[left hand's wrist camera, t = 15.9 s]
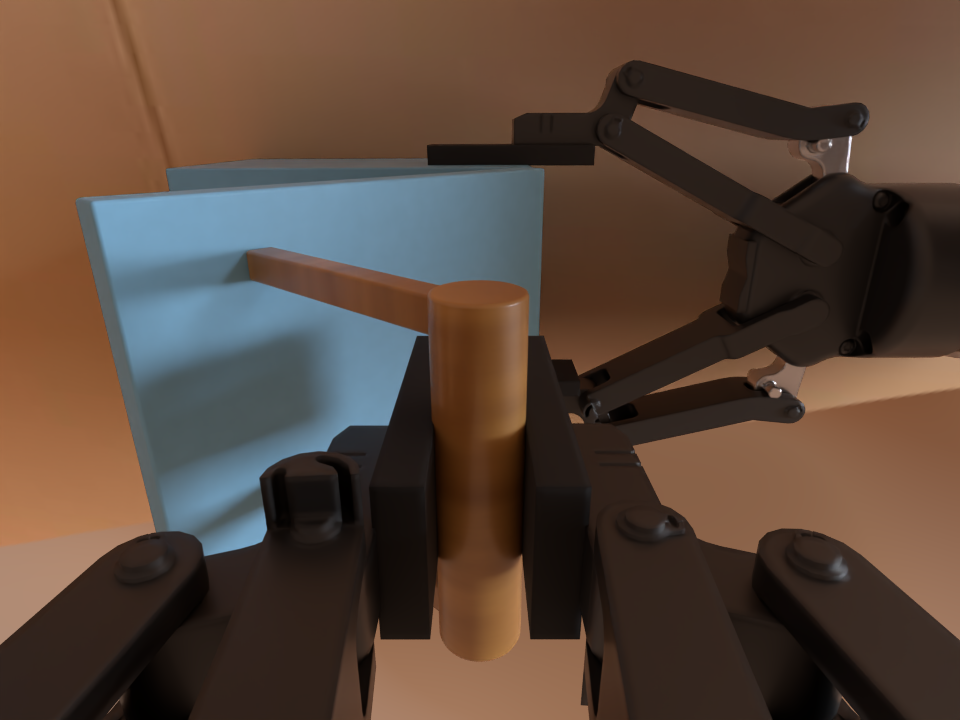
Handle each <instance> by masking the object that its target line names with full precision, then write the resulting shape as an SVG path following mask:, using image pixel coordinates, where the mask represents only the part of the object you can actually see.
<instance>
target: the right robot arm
mask: <svg viewBox="0 0 960 720" xmlns="http://www.w3.org/2000/svg"><path fill="white" fill-rule="evenodd" d="M637 105H641V106H644V107H648V108H652V109H656V110H659V111H663V112H667V113H670V114H674V115H678V116H682V117H685V118H689V119H693V120H696V121H700V122H704V123H707V124H711V125H715V126H719V127H722V128H726V129H730V130H733V131H737V132H741V133H744V134H748V135H752V136H756V137H760V138H765V139H772V140H789V141H788V144H787V145H788V149H789V152H790V154H791V155H792V157H794V158H796V159H801V160H805V161H807V162H808V163H809V164H810V166H811V169H812V174H811V175H809V176H808V177H806V178H805V179H803V180H802V181H800V182H799V183H797V184H796V185H794V186H793V187H791V188H790V189H788V190H787V191H785V192H784V193H782V194H781V195H779V196H778V197H776V198H775V199H773V200H772V201H771V200H770V199H768V198H766V197H764V196H762V195H760V194H758V193H755V192H753V191H751V190H749V189H747V188H746V187H744V186H742V185H741V184H739V183H737V182H735V181H734V180H732V179H730V178H729V177H727V176H725V175H723V174H722V173H720V172H718V171H717V170H715V169H713V168H711V167H710V166H708V165H706V164H705V163H703V162H701V161H700V160H698V159H696V158H694V157H693V156H691V155H689V154H688V153H686V152H684V151H682V150H681V149H679V148H677V147H676V146H674V145H672V144H670V143H669V142H667V141H665V140H664V139H662V138H660V137H659V136H657V135H655V134H653V133H652V132H650V131H648V130H647V129H645V128H643V127H641V126H640V125H638V124H636V123H635V122H633V121H631V118H632V115H633V113H634V111H635V108H636V106H637ZM868 121H869V111H868V109H867V107H866V106H865V105H863V104H862V103H844V104H833V105H821V106H812V107H805V106H802V105H798V104H795V103H791V102H787V101H784V100H780V99H777V98H773V97H769V96H766V95H762V94H758V93H755V92H751V91H748V90H744V89H740V88H737V87H733V86H730V85H726V84H722V83H719V82H715V81H711V80H708V79H704V78H701V77H697V76H693V75H690V74H686V73H683V72H679V71H675V70H672V69H668V68H665V67H661V66H657V65H654V64H650V63H646V62H643V61H638V60H633V61H630V62H628V63H625V64H623V65H621V66H619V67H617V68H615V69H613V70H612V71H611V72H610V73H609V75H608V77H607V79H606V86H605V88H604V91H603V94H602V96H601V99H600V101H599V103H598V105H597V106H596V107H595V108H594V109H593V110H592V111H590V112H588V113H526V114H524V115H521V116H519V117H517V118H515V119H512V144H431V145H427V156H428V165H594V155H595V146H599V147H601V148H602V149H604V150H606V151H608V152H609V153H611V154H613V155H615V156H616V157H618V158H620V159H622V160H623V161H625V162H627V163H629V164H630V165H632V166H634V167H636V168H637V169H639V170H641V171H643V172H644V173H646V174H648V175H650V176H651V177H653V178H655V179H657V180H658V181H660V182H662V183H664V184H666V185H667V186H669V187H671V188H673V189H674V190H676V191H678V192H680V193H681V194H683V195H685V196H687V197H688V198H690V199H692V200H694V201H695V202H697V203H699V204H701V205H702V206H704V207H706V208H708V209H709V210H711V211H712V212H713V213H715V214H716V215H718V216H720V217H722V218H723V219H725V220H727V221H729V222H730V223H732V224H734V225H736V226H737V227H738V228H737V230H736V231H735V234H729V241H728V247H727V255H728V263H729V269H728V272H727V274H726V277H725V279H724V281H723V284H722V288H721V295H720V302H722V304H720V305H717V306H715V307H713V308H711V309H709V310H707V311H705V312H703V313H702V314H700V315H699V317H698V319H697V320H695V321H694V322H691V323H689V324H687V325H685V326H683V327H681V328H679V329H677V330H674V331H672V332H670V333H668V334H666V335H664V336H662V337H659V338H657V339H655V340H653V341H651V342H649V343H647V344H645V345H642V346H640V347H638V348H636V349H634V350H632V351H630V352H628V353H625V354H623V355H621V356H619V357H617V358H615V359H613V360H611V361H608V362H606V363H604V364H602V365H600V366H598V367H596V368H594V369H591V370H589V371H587V372H585V373H583V374H581V375H579V376H578V374H577V372H576V369H575V367H574V364H573V362H572V360H552V364H553V367H554V370H555V373H556V376H557V379H558V382H559V385H560V389H561V392H562V395H563V398H564V401H565V404H566V407H567V411H568V413H574V414H577V415H578V416H580V417H581V418H582V419H583V421H584V424H612V425H613V426H615V427H616V428H617V429H619V430H620V431H621V432H623V433H624V434H625V435H627V436H628V438H629V440H630V442H631V444H632V446H633V445H638V444H643V443H647V442H652V441H657V440H661V439H666V438H671V437H676V436H680V435H685V434H690V433H694V432H699V431H704V430H708V429H713V428H718V427H722V426H727V425H732V424H736V423H741V422H746V421H750V420H759V421H769V422H779V423H794V422H797V421H799V420H800V419H801V418H802V417H803V415H804V413H805V406H804V404H803V403H802V402H801V401H799V400H798V399H797V398H796V397H797V393H798V390H799V387H800V384H801V381H802V378H803V375H804V372H805V369H806V367H808V366H812V365H815V364H817V363H819V362H821V361H823V360H826V359H829V358H832V357H839V356H842V357H860V358H919V357H940V356H949V357H955V358H960V184H950V183H922V184H866V183H864V182H862V181H860V180H858V179H857V178H856V177H854V176H853V175H850V174H848V167H849V158H850V149H851V139H852V136H854V135H857V134H859V133H860V132H861V131H863V130H864V128H865V127H866V126H867V124H868ZM763 347H766V348H768V349H769V350H770V351H772V352H773V353H774V354H776V355H777V357H776V359H775V361H774V362H773V363H772V364H771V365H770V366H768V367H765V368H759V369H751V370H749V371H748V373H747V377H728V378H722V379H717V380H713V381H708V382H704V383H699V384H695V385H690V386H686V387H681V388H677V389H672V390H667V391H663V392H658V393H654V394H649V393H651V392H653V391H655V390H657V389H660V388H662V387H664V386H666V385H668V384H671V383H673V382H675V381H677V380H679V379H682V378H684V377H686V376H688V375H690V374H693V373H695V372H697V371H699V370H701V369H704V368H706V367H708V366H710V365H712V364H715V363H717V362H719V361H721V360H724V359H738V358H741V357H744V356H746V355H748V354H750V353H752V352H755V351H757V350H759V349H761V348H763ZM646 394H649V395H646ZM644 395H645V396H644Z"/></svg>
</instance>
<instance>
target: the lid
mask: <svg viewBox="0 0 960 720" xmlns="http://www.w3.org/2000/svg"><path fill="white" fill-rule="evenodd" d="M543 198H544V169H542V168H525V167H523V168H508V169H493V170H478V171H464V172H449V173H434V174H419V175H405V176H390V177H375V178H361V179H346V180H331V181H316V182H302V183H287V184H272V185H257V186H243V187H228V188H213V189H198V190H184V191H169V192H154V193H139V194H125V195H110V196H95V197H81V198H78V199H76V207H77V211H78V215H79V219H80V223H81V227H82V231H83V236H84V240H85V244H86V248H87V252H88V256H89V260H90V264H91V268H92V272H93V276H94V280H95V285H96V289H97V293H98V297H99V301H100V305H101V309H102V313H103V317H104V321H105V325H106V329H107V334H108V338H109V342H110V346H111V350H112V354H113V358H114V362H115V366H116V370H117V374H118V378H119V383H120V387H121V391H122V395H123V399H124V403H125V407H126V411H127V415H128V419H129V423H130V427H131V432H132V436H133V440H134V444H135V448H136V452H137V456H138V460H139V464H140V468H141V472H142V476H143V481H144V485H145V489H146V493H147V497H148V501H149V505H150V509H151V513H152V517H153V521H154V525H155V529H156V532H165V531H180V532H184V533H187V534H191V535H194V536H195V537H196V538H197V539H198V540H199V541H200V542H201V543H202V546H203V551H204V556H208V555H213V554H218V553H222V552H227V551H232V550H237V549H241V548H244V547H248V546H252V545H255V544H257V543H260V542H262V541H263V538H264V536H265V533H266V531H267V526H266V519H265V513H264V506H263V500H262V493H261V487H260V480H259V477H260V476H261V475H262V474H263V473H264V472H265V470H266V469H267V468H268V467H270V466H272V465H273V464H275V463H277V462H278V461H280V460H282V459H285V458H288V457H291V456H294V455H297V454H300V453H308V452H315V451H325V452H327V450H328V448H329V446H330V444H331V442H332V440H333V438H334V437H335V436H337V435H338V434H339V433H341V432H342V431H343V430H345V429H346V428H347V427H349V426H350V425H389V422H390V419H391V416H392V412H393V409H394V406H395V403H396V400H397V397H398V394H399V390H400V387H401V384H402V381H403V378H404V375H405V372H406V368H407V365H408V362H409V359H410V356H411V353H412V350H413V347H414V343H415V340H416V337H417V336H429V361H430V387H431V414H432V422H433V424H434V440H435V471H436V501H437V532H438V565H437V575H436V585H435V595H434V605H433V607H434V608H436V609H437V610H438V611H439V625H440V635H441V638H442V641H443V642H444V644H445V646H446V647H447V648H448V649H449V650H450V651H451V652H452V653H453V654H455V655H456V656H458V657H460V658H463V659H466V660H469V661H476V662H483V661H490V660H494V659H497V658H499V657H502V656H503V655H505V654H507V653H508V652H509V651H510V650H511V649H512V648H513V647H514V645H515V644H516V642H517V640H518V638H519V635H520V628H521V590H522V534H523V501H524V466H525V431H526V403H527V365H528V336H539V318H540V288H541V258H542V228H543Z"/></svg>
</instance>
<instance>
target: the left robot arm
mask: <svg viewBox="0 0 960 720" xmlns="http://www.w3.org/2000/svg"><path fill="white" fill-rule="evenodd" d="M259 480H260V487H261V493H262V500H263V506H264V513H265V519H266V526H267V531H266V533H265V536H264V538H263V541H262V542H260V543H257V544H255V545H252V546H248V547H244V548H241V549H237V550H232V551H227V552H222V553H218V554H213V555H208V556H204V551H203V546H202V543H201V542H200V541H199V540H198V539H197V538H196V537H195V536H194V535H191V534H187V533H184V532H180V531H165V532H156V533H151V534H146V535H143V536H139V537H137V538H134V539H132V540H130V541H128V542H125V543H123V544H121V545H118V546H117V547H115V548H114V549H112V550H111V551H109V552H108V553H106V554H105V555H104V556H102V557H101V558H99V559H98V560H97V561H96V562H95V563H94V564H93V565H91V566H90V567H89V568H88V569H87V570H86V571H85V572H83V573H82V574H81V575H80V576H79V577H78V578H76V579H75V580H74V581H73V582H72V583H71V584H70V585H68V586H67V587H66V588H65V589H64V590H63V591H62V592H60V593H59V594H58V595H57V596H56V597H55V598H54V599H52V600H51V601H50V602H49V603H48V604H47V605H46V606H44V607H43V608H42V609H41V610H40V611H39V612H38V613H36V614H35V615H34V616H33V617H32V618H31V619H29V620H28V621H27V622H26V623H25V624H24V625H23V626H21V627H20V628H19V629H18V630H17V631H16V632H15V633H14V634H12V635H11V636H10V637H9V638H8V639H7V640H5V641H4V642H3V643H2V644H1V645H0V720H371V711H372V701H373V691H374V681H375V672H376V661H375V649H374V638H375V633H376V628H377V624H378V619H379V624H380V637H381V639H430V635H431V625H432V615H433V605H434V595H435V585H436V575H437V565H438V532H437V501H436V471H435V440H434V424H433V422H432V414H431V387H430V361H429V336H417V337H416V340H415V343H414V347H413V350H412V353H411V356H410V359H409V362H408V365H407V368H406V372H405V375H404V378H403V381H402V384H401V387H400V390H399V394H398V397H397V400H396V403H395V406H394V409H393V412H392V416H391V419H390V422H389V425H350V426H349V427H347V428H346V429H345V430H343V431H342V432H341V433H339V434H338V435H337V436H335V437H334V438H333V440H332V442H331V444H330V446H329V448H328V450H327V452H325V451H315V452H308V453H300V454H297V455H294V456H291V457H288V458H285V459H282V460H280V461H278V462H277V463H275V464H273V465H272V466H270V467H268V468H267V469H266V470H265V472H264V473H263V474H262V475H261V476H260V477H259ZM522 559H523V569H524V579H525V589H526V600H527V610H528V620H529V630H530V639H580V630H581V617H582V618H583V623H584V627H585V632H586V649H585V661H584V673H583V685H582V697H581V705H587V706H588V710H589V720H960V640H959V639H958V638H956V637H955V636H954V635H953V634H952V633H951V632H949V631H948V630H947V629H946V628H945V627H944V626H943V625H941V624H940V623H939V622H938V621H937V620H936V619H934V618H933V617H932V616H931V615H930V614H929V613H928V612H926V611H925V610H924V609H923V608H922V607H921V606H919V605H918V604H917V603H916V602H915V601H914V600H913V599H911V598H910V597H909V596H908V595H907V594H906V593H904V592H903V591H902V590H901V589H900V588H899V587H897V586H896V585H895V584H894V583H893V582H892V581H891V580H889V579H888V578H887V577H886V576H885V575H884V574H883V573H881V572H880V571H879V570H878V569H877V568H876V567H874V566H873V565H872V564H871V563H870V562H869V561H867V560H866V559H865V558H864V557H863V556H862V555H860V554H859V553H857V552H856V551H854V550H853V549H851V548H850V547H849V546H847V545H846V544H844V543H842V542H840V541H838V540H835V539H833V538H831V537H828V536H826V535H824V534H821V533H818V532H814V531H813V532H812V531H809V530H803V529H779V530H775V531H771V532H768V533H766V535H764V537H763V538H762V539H761V540H760V541H759V544H758V549H757V554H755V553H751V552H746V551H741V550H736V549H732V548H727V547H722V546H718V545H715V544H711V543H707V542H705V541H702V540H700V539H698V538H697V537H696V535H695V533H694V530H693V528H692V527H691V526H690V524H689V523H688V521H687V520H686V519H685V518H684V517H683V516H682V515H680V514H679V513H677V512H676V511H674V510H673V509H671V508H669V507H666V506H664V505H661V503H660V501H659V499H658V497H657V495H656V493H655V491H654V489H653V487H652V485H651V483H650V481H649V479H648V477H647V475H646V473H645V471H644V468H643V467H642V466H641V462H640V460H639V458H638V456H637V454H635V450H634V448H633V446H632V444H631V442H630V440H629V438H628V436H627V435H625V434H624V433H623V432H621V431H620V430H619V429H617V428H616V427H615V426H613V425H612V424H572V423H571V420H570V417H569V414H568V411H567V407H566V404H565V401H564V398H563V395H562V392H561V389H560V385H559V382H558V379H557V376H556V373H555V370H554V367H553V364H552V360H551V357H550V354H549V351H548V348H547V345H546V342H545V338H544V336H528V365H527V403H526V431H525V466H524V501H523V534H522ZM842 696H843V697H844V699H845V700H846V701H847V702H848V703H849V705H850V706H851V707H852V708H853V709H854V711H855V712H856V713H857V714H858V715H859V716H858V715H857V714H856V713H855V712H854V711H853V710H852V709H851V708H850V707H849V706H848V705H847V703H846V702H845V701H844V700H843V699H842ZM118 700H119V701H118ZM117 701H118V702H117ZM116 702H117V704H116V705H115V703H116ZM114 705H115V706H114ZM113 706H114V707H113ZM112 707H113V708H112ZM111 708H112V710H111V711H110V709H111ZM109 711H110V712H109ZM108 712H109V713H108ZM107 713H108V714H107ZM106 714H107V715H106Z"/></svg>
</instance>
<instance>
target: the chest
mask: <svg viewBox="0 0 960 720" xmlns="http://www.w3.org/2000/svg"><path fill="white" fill-rule="evenodd" d="M523 167H525V168H532V167H531V166H529V165H428V158H378V159H249V160H240V161H231V162H222V163H213V164H203V165H194V166H185V167H176V168H167V169H166V174H167V180H168V185H169V190H170V191H184V190H198V189H213V188H228V187H243V186H257V185H272V184H287V183H302V182H316V181H331V180H346V179H361V178H375V177H390V176H405V175H419V174H434V173H449V172H464V171H478V170H493V169H508V168H523Z"/></svg>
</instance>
